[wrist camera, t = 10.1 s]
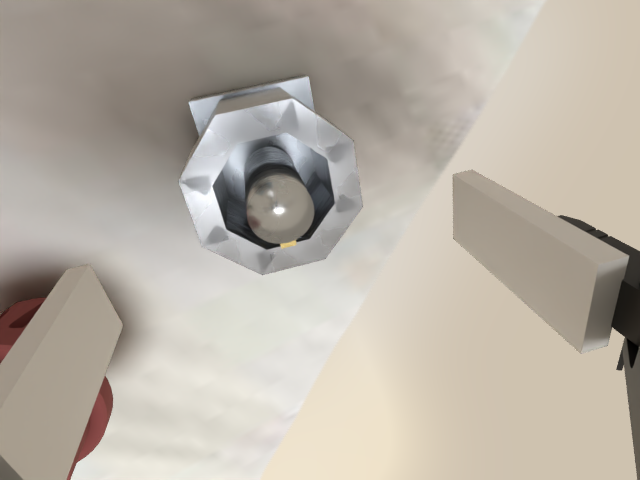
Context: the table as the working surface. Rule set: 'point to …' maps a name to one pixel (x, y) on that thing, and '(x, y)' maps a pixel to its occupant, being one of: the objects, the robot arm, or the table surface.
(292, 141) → the bulb on base
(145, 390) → the table surface
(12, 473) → the robot arm
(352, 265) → the table surface
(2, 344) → the mechanical component
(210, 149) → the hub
